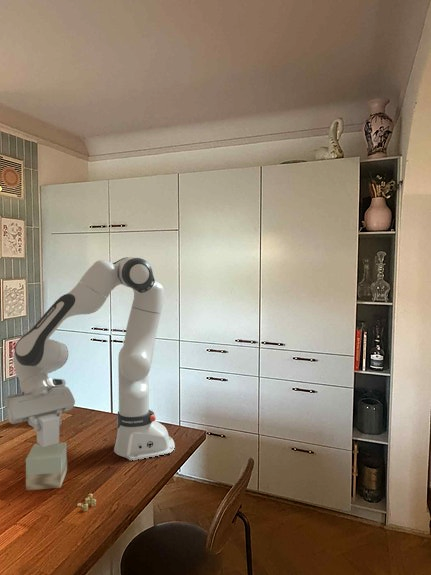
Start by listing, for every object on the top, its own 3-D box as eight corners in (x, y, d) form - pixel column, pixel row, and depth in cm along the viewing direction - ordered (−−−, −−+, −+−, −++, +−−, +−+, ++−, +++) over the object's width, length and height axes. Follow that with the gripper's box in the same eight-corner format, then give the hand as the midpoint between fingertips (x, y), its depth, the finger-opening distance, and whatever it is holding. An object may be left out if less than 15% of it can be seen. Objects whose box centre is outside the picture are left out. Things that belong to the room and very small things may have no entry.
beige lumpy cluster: (91, 499, 117) (91, 492, 117) (100, 506, 114) (100, 500, 113) (75, 506, 113) (75, 500, 113) (83, 514, 110) (83, 507, 110)
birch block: (67, 471, 132) (67, 457, 131) (60, 488, 122) (60, 472, 121) (35, 473, 130) (35, 459, 129) (26, 491, 120) (25, 475, 120)
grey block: (36, 441, 125) (36, 417, 124) (52, 437, 128) (52, 413, 128) (43, 447, 121) (43, 421, 121) (59, 442, 125) (59, 417, 124)
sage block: (66, 456, 131) (66, 442, 131) (60, 472, 122) (60, 456, 121) (34, 459, 129) (34, 444, 129) (26, 475, 120) (25, 459, 119)
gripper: (4, 391, 121) (16, 432, 115) (69, 378, 136) (82, 414, 130) (0, 401, 125) (11, 442, 118) (63, 388, 139) (76, 423, 133)
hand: (48, 427), depth 124 cm, fingers closed on grey block, 5 cm apart
